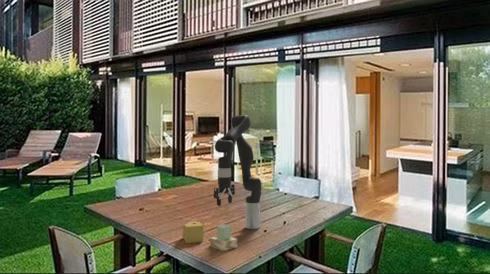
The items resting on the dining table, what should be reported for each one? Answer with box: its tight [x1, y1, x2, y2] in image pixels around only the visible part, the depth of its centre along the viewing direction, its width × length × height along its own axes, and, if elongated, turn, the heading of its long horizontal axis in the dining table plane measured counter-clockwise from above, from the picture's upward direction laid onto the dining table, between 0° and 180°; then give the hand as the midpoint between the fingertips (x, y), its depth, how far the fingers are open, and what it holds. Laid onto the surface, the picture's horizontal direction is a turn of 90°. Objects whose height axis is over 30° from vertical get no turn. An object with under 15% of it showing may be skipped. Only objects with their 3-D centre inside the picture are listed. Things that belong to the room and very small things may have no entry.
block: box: [216, 223, 232, 241], centre depth 218 cm, size 6×6×7 cm
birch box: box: [209, 235, 238, 252], centre depth 219 cm, size 11×11×5 cm
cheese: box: [182, 220, 205, 244], centre depth 229 cm, size 10×11×10 cm
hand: (224, 204), depth 218 cm, fingers open, 8 cm apart
